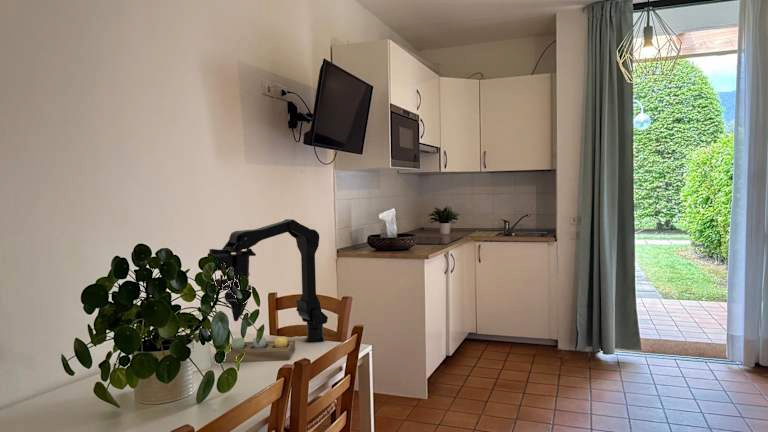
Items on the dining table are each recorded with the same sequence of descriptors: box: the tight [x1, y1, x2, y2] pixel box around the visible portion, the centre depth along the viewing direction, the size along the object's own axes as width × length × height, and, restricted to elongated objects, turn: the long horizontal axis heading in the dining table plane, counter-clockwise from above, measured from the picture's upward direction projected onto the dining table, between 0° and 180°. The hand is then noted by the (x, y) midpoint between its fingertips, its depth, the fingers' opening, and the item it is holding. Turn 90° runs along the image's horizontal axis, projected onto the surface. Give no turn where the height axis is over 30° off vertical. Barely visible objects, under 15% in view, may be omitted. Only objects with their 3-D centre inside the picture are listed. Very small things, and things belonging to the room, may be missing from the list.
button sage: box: [231, 337, 245, 349], centre depth 175 cm, size 4×4×4 cm
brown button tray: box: [224, 339, 296, 363], centre depth 175 cm, size 12×21×3 cm, turn 90°
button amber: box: [274, 335, 288, 348], centre depth 175 cm, size 4×4×4 cm
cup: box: [192, 312, 212, 372], centre depth 164 cm, size 8×8×16 cm
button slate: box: [252, 337, 267, 349], centre depth 175 cm, size 4×4×4 cm
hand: (238, 318), depth 172 cm, fingers open, 9 cm apart
